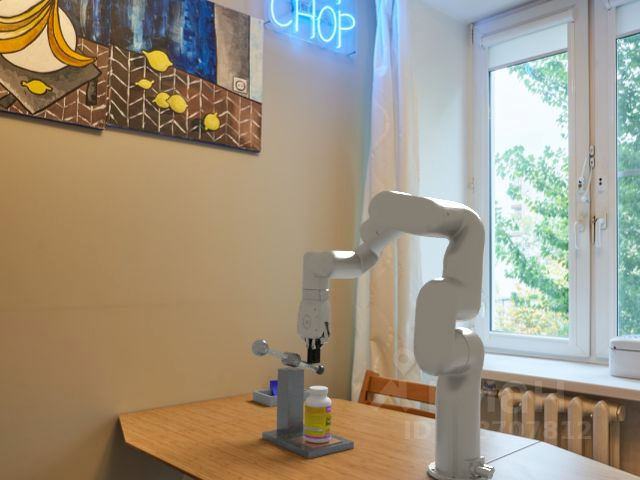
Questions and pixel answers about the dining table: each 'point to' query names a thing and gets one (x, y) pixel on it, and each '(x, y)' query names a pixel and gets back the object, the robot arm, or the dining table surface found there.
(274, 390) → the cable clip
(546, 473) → the dining table surface
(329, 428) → the supplement bottle
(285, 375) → the press frame
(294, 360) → the press lever
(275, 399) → the tray
